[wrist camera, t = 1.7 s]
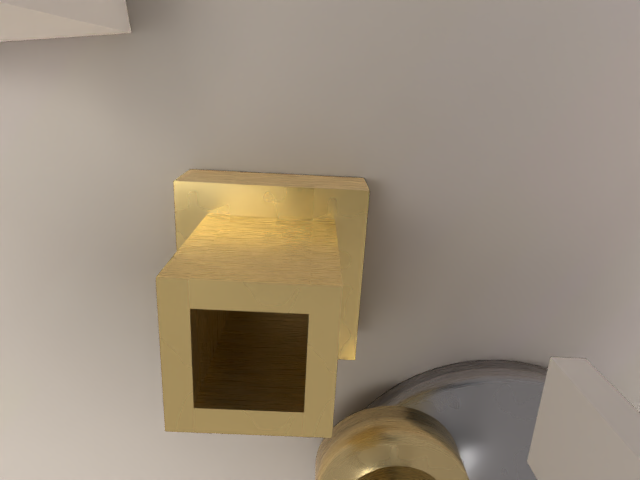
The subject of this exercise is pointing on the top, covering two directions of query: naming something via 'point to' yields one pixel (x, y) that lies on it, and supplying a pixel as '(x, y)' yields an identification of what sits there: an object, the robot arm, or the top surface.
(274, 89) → the top surface
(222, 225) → the brass square sleeve
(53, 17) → the bracket
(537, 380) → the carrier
